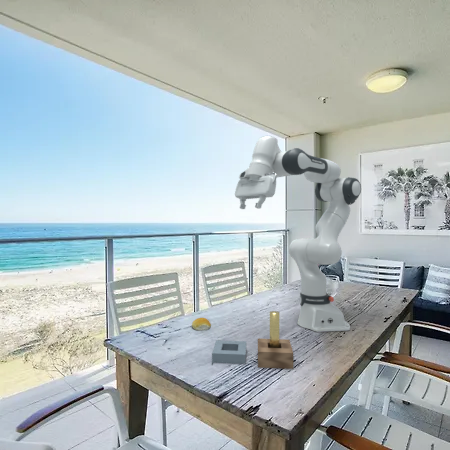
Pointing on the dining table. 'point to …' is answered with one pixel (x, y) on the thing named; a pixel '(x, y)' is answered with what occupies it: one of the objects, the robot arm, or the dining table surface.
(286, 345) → the walnut bore block
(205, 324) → the bread roll
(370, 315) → the dining table surface
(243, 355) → the slate socket block
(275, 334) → the brass peg
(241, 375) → the dining table surface
